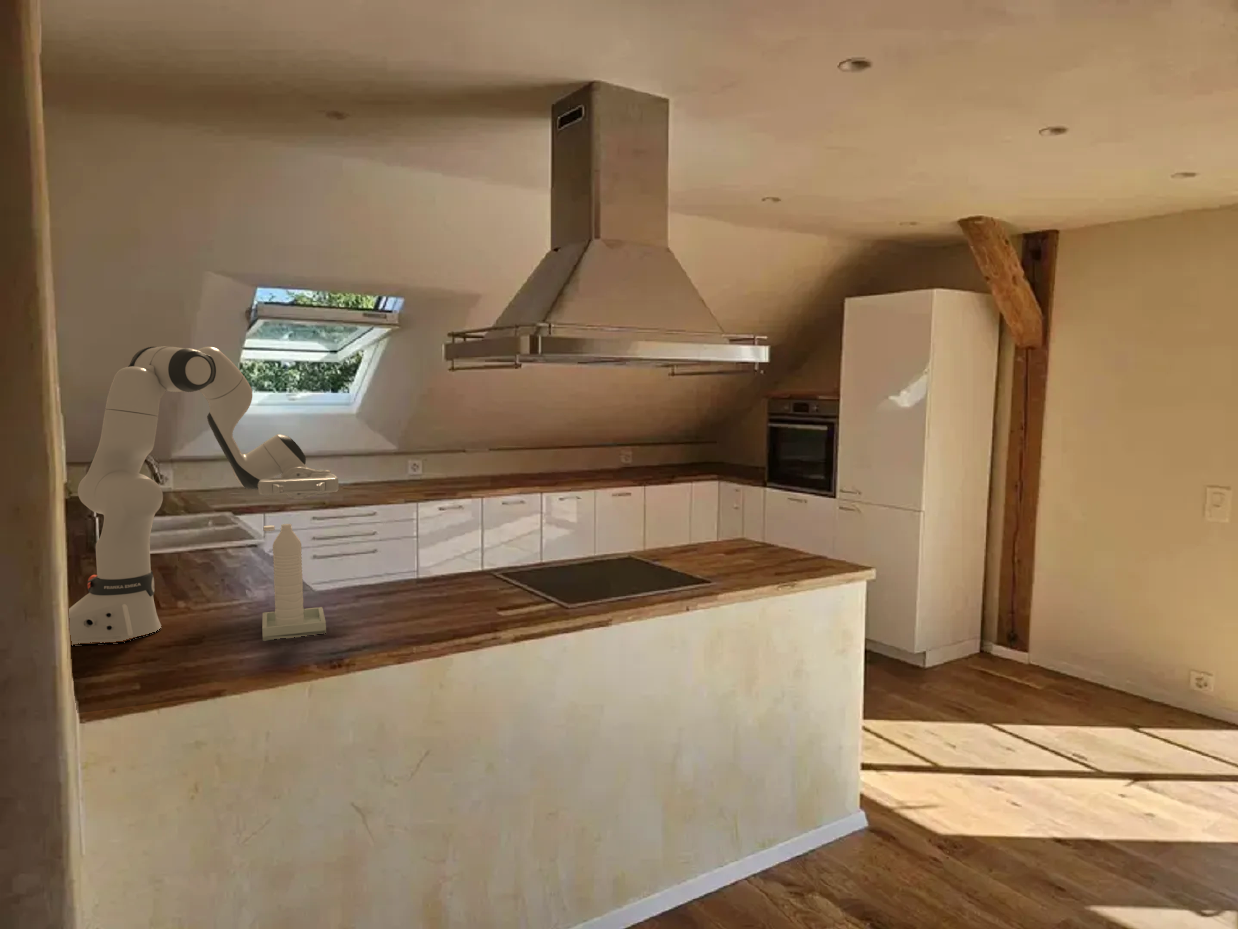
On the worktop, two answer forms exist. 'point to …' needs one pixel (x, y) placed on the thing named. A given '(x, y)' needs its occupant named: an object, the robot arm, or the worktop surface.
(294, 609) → the water bottle
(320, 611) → the sage tray
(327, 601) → the worktop surface
